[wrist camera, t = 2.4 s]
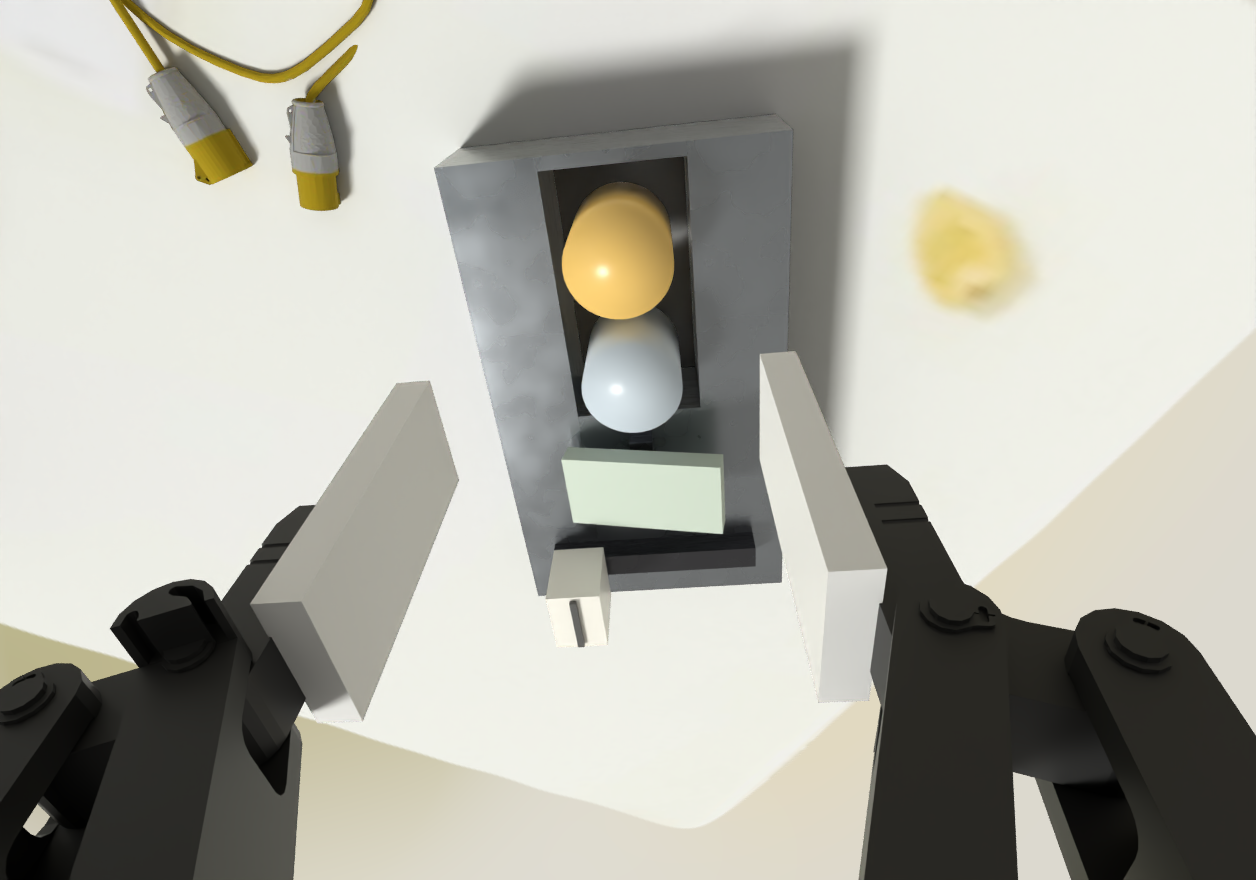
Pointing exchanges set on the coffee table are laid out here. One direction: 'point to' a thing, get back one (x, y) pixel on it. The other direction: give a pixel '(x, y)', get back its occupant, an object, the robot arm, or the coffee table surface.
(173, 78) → the extension cord
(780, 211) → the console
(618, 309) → the amber button
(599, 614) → the fader knob
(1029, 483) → the coffee table surface
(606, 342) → the blue-grey button
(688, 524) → the panel
